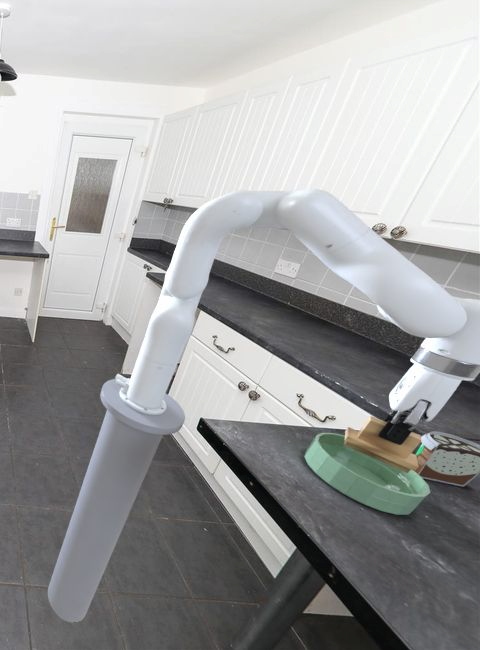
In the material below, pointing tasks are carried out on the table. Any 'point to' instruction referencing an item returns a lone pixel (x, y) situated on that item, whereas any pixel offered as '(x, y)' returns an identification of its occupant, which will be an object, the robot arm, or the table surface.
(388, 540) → the table surface
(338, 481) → the bowl
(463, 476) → the food container
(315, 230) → the robot arm
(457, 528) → the table surface
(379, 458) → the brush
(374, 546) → the table surface
